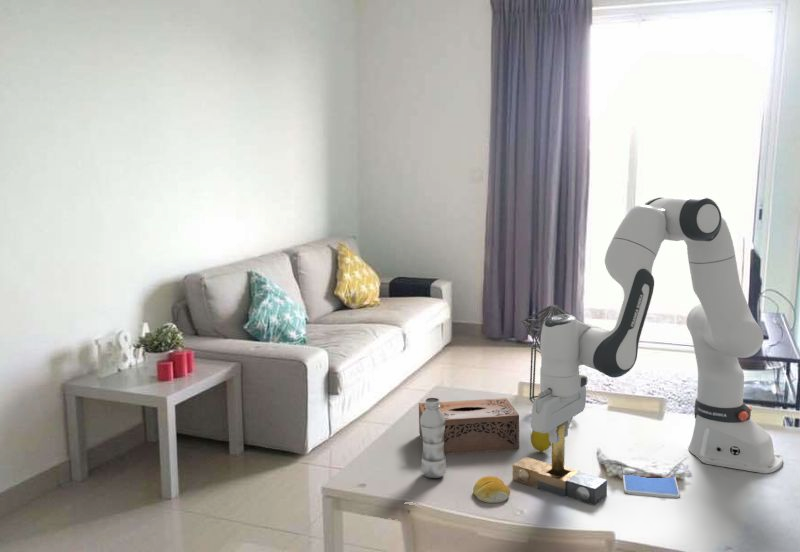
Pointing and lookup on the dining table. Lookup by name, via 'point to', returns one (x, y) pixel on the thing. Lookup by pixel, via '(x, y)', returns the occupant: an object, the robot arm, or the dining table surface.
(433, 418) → the plastic bottle
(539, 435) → the lemon
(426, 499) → the dining table surface
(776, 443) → the dining table surface
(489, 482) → the bread roll
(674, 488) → the tablet computer
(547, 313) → the geometric lantern
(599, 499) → the block
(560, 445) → the brass pin
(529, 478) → the block
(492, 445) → the tissue box cover
